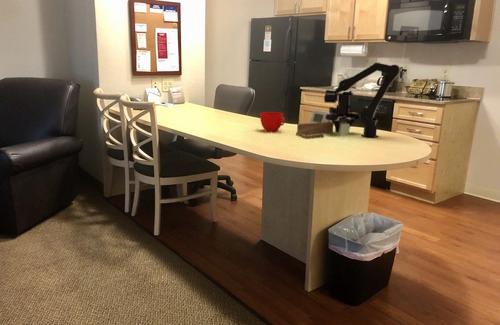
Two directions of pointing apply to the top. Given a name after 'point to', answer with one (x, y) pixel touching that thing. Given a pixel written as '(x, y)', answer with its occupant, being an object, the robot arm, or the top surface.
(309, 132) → the wall board
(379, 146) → the top surface
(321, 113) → the digital clock
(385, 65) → the robot arm
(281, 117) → the ceramic cup
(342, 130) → the cabinet block
